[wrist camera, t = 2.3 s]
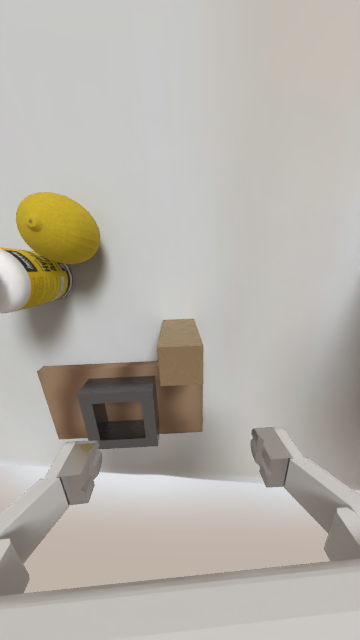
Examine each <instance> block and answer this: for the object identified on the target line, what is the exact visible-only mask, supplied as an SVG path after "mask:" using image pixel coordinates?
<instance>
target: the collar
mask: <svg viewBox="0 0 360 640" xmlns="http://www.w3.org/2000/svg"><path fill="white" fill-rule="evenodd" d="M77 397H78V401H79V405H80V409H81V412H82V416H83V420H84V424H85V428H86V432H87V436H88V440H89V441H99V445H100V446H99V448H98V449H111V448H129V447H147V446H158V440H159V429H160V423H159V412H158V401H157V391H156V380H155V376H137V377H116V378H95V379H88V380H87V382H86V383H85V384H84V386H83V387H82V388H81V390H80V391H79V392H78V394H77ZM121 402H141V404H142V412H143V420H124V421H108V416H107V411H106V406H105V403H121Z"/></svg>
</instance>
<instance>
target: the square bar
mask: <svg viewBox="0 0 360 640" xmlns="http://www.w3.org/2000/svg"><path fill="white" fill-rule="evenodd" d="M157 350H158V362H159V374H160V386H176V385H196V384H203V343H202V341H201V338H200V335H199V332H198V329H197V327H196V324H195V321H194V319H176V320H163V323H162V328H161V333H160V337H159V342H158V347H157Z"/></svg>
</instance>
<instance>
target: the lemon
mask: <svg viewBox="0 0 360 640" xmlns="http://www.w3.org/2000/svg"><path fill="white" fill-rule="evenodd" d="M16 222H17V227H18V230H19V232H20V234H21V236H22V238H23V239H24V241H25V242H26V243H27V244H28V245H29V246H30V247H31V248H32V249H33V250H34V251H35V252H37V253H38V254H40V255H42V256H43V257H45V258H47V259H50V260H53V261H56V262H59V263H65V264H77V263H82V262H85V261H87V260H89V259H91V258H92V257H93V256H94V255H95V254H96V252H97V250H98V248H99V245H100V233H99V228H98V226H97V224H96V222H95V220H94V219H93V217H92V216H91V214H90V213H89V212H88V211H87V210H86V209H85V208H83V207H82V206H81V205H80V204H79V203H77V202H75V201H73V200H72V199H70V198H68V197H66V196H62V195H59V194H55V193H49V192H44V193H35V194H32V195H29V196H28V197H26V198H25V199H24V200H23V201H22V202H21V203H20V205H19V206H18V209H17V213H16Z"/></svg>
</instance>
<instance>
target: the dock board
mask: <svg viewBox="0 0 360 640" xmlns="http://www.w3.org/2000/svg"><path fill="white" fill-rule="evenodd" d="M37 373H38V376H39V379H40V382H41V385H42V388H43V391H44V394H45V397H46V400H47V404H48V407H49V410H50V413H51V416H52V419H53V422H54V425H55V428H56V431H57V434H58V437H59V439H74V438H88V436H87V432H86V428H85V424H84V420H83V416H82V412H81V409H80V405H79V401H78V397H77V394H78V392H79V391H80V390H81V388H82V387H83V386H84V384H85V383H86V382H87V380H88V379H95V378H116V377H137V376H155V380H156V391H157V401H158V412H159V423H160V429H159V434H168V433H187V432H202V405H203V384H196V385H176V386H160V374H159V362H158V361H151V362H130V363H108V364H86V365H65V366H44V367H42V368H41V369H40V370H38V371H37ZM105 406H106V411H107V416H108V421H124V420H143V412H142V404H141V402H121V403H105Z"/></svg>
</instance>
